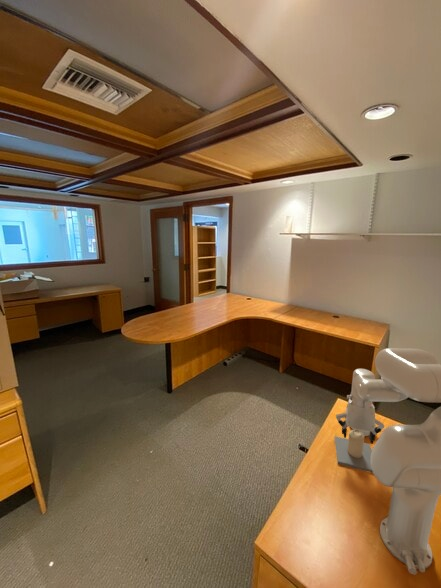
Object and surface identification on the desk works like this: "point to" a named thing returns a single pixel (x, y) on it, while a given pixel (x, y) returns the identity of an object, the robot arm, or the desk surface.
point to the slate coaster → (349, 460)
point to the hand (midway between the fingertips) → (357, 438)
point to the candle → (355, 443)
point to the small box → (363, 431)
